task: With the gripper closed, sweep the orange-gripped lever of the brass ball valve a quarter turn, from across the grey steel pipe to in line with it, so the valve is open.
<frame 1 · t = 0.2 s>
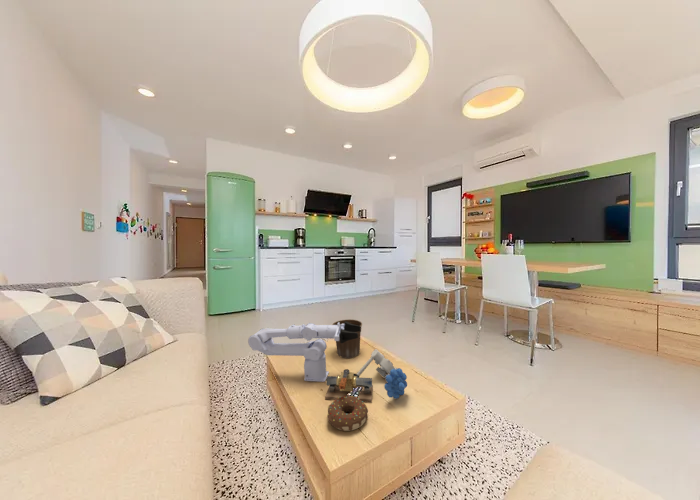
hand: (359, 331, 109), 21 cm above the table, fingers open, 7 cm apart
pipe and valve body: (347, 393, 101), resting on walnut board
plant pot: (348, 353, 136), on the table
walnut board: (349, 393, 100), on the table
grapes: (398, 400, 96), on the table
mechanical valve: (374, 380, 110), on the table
valve lever: (344, 378, 96), point 9 cm above the table, hinge at -90.0°
donut: (346, 420, 86), on the table
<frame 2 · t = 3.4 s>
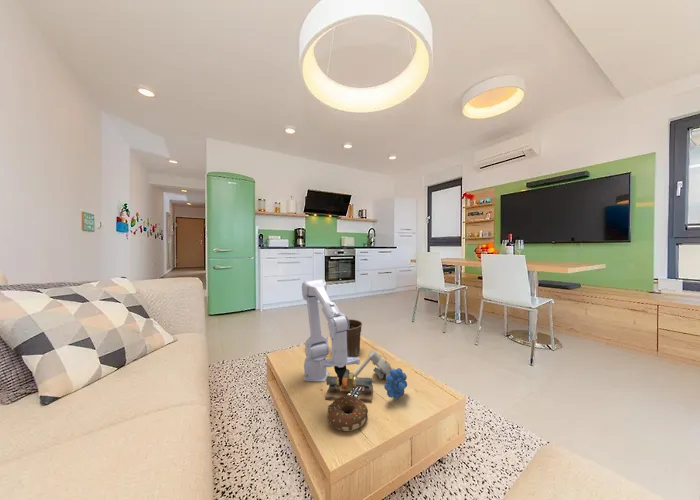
hand: (340, 384, 93), 8 cm above the table, fingers closed, pressing on valve lever
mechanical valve: (371, 380, 109), on the table
valve lever: (345, 378, 96), point 9 cm above the table, hinge at -86.1°, touching gripper
everything else where it was.
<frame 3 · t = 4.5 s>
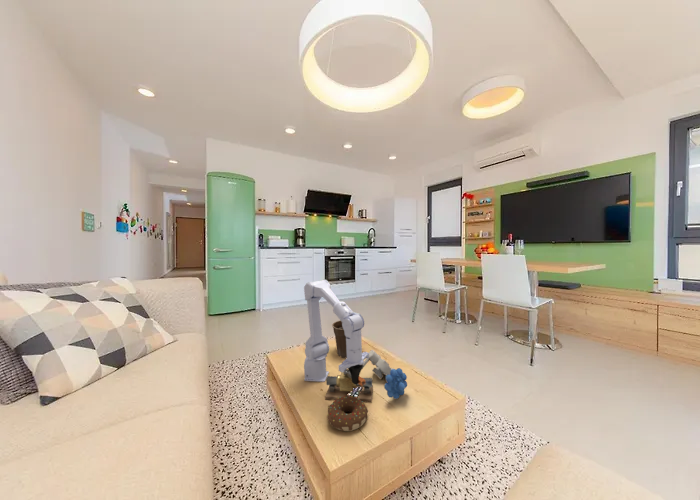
hand: (355, 383, 94), 8 cm above the table, fingers closed, pressing on valve lever
valve lever: (353, 377, 97), point 9 cm above the table, hinge at -41.9°, touching gripper
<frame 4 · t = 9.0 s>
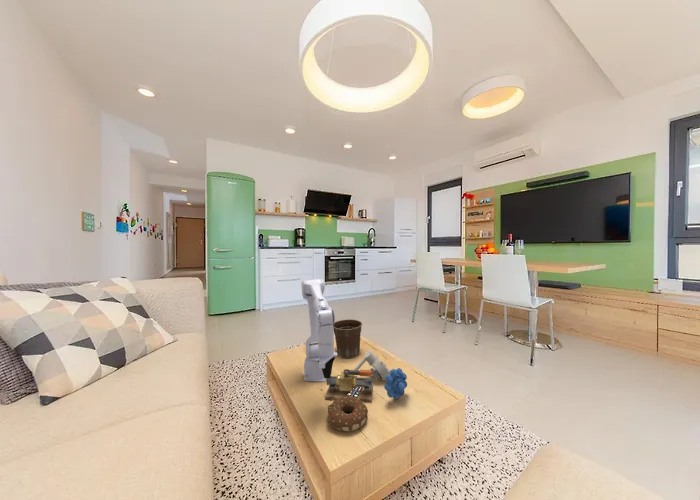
hand: (327, 377, 94), 10 cm above the table, fingers closed
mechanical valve: (366, 381, 109), on the table
valve lever: (357, 373, 100), point 9 cm above the table, hinge at 0.3°
everything else where it was.
at the end: valve lever at +0° (first picture: -90°); the gripper is holding nothing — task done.
